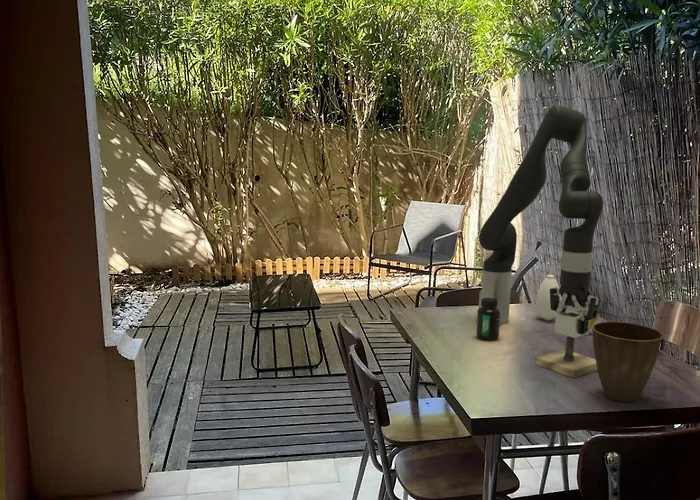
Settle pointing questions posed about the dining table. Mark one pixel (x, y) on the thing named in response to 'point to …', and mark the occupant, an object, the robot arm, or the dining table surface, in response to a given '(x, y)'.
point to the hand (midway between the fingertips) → (571, 330)
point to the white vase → (546, 297)
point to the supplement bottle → (488, 320)
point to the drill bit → (592, 321)
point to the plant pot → (625, 358)
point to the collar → (568, 324)
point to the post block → (567, 361)
